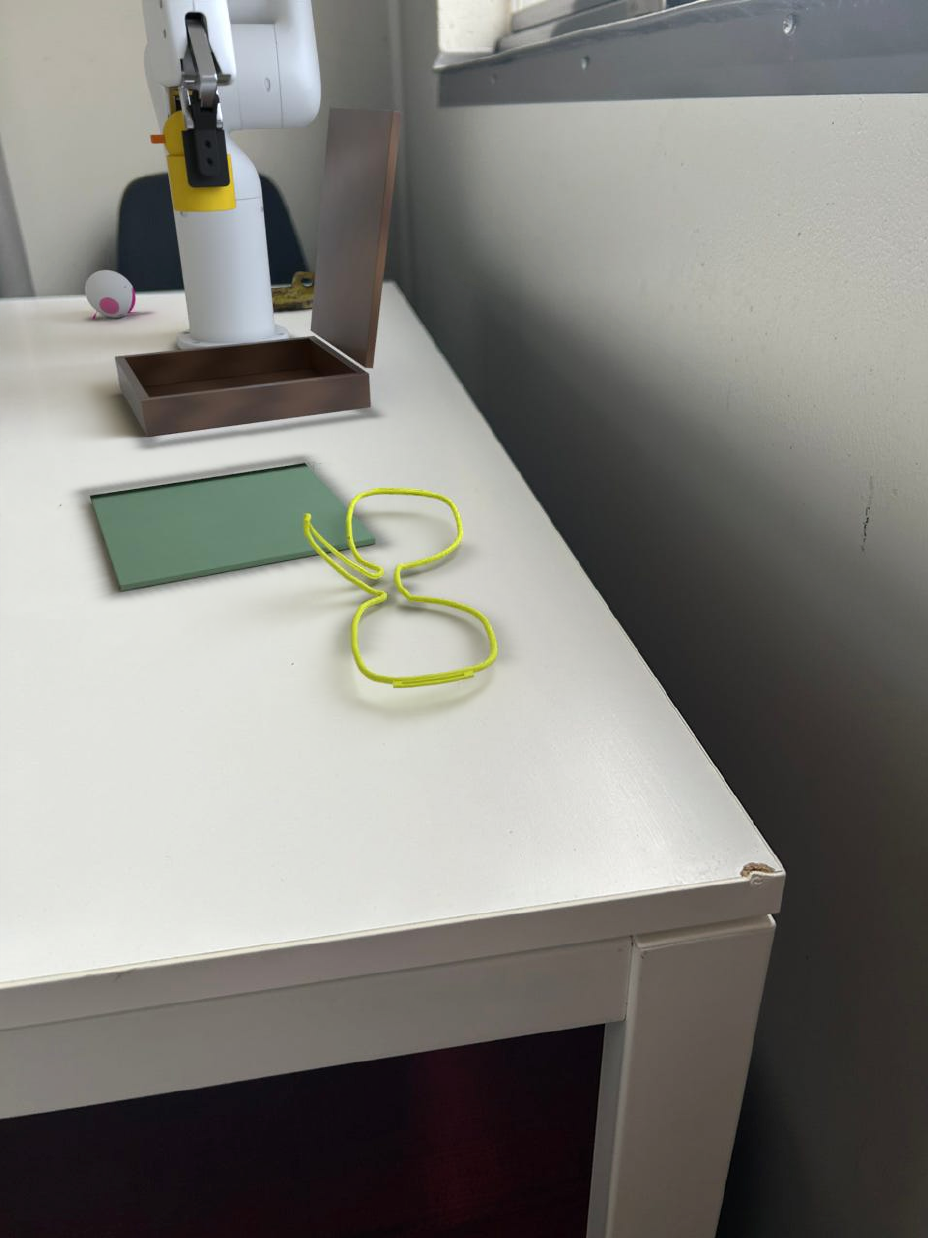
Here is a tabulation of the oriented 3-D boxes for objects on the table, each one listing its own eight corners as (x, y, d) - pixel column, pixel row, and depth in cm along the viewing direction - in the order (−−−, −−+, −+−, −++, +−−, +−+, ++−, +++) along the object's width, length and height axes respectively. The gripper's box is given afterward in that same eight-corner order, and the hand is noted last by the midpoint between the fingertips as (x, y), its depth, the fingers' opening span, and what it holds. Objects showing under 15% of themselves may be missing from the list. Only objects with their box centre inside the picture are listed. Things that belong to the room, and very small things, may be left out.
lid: (392, 109, 78) (402, 111, 79) (329, 106, 92) (337, 108, 92) (364, 367, 87) (373, 368, 87) (310, 330, 100) (317, 331, 100)
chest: (148, 446, 82) (141, 401, 80) (121, 395, 95) (114, 356, 93) (371, 415, 89) (369, 373, 87) (317, 372, 102) (314, 335, 100)
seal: (216, 322, 129) (331, 316, 131) (211, 285, 126) (329, 280, 128) (219, 300, 136) (328, 294, 138) (214, 265, 134) (325, 260, 136)
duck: (228, 204, 84) (218, 108, 80) (242, 209, 80) (231, 109, 76) (156, 208, 82) (142, 109, 78) (167, 213, 77) (152, 110, 74)
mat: (87, 491, 73) (86, 486, 73) (298, 459, 78) (297, 454, 78) (121, 591, 58) (119, 585, 58) (375, 543, 64) (375, 537, 64)
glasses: (509, 700, 48) (513, 614, 45) (304, 712, 47) (296, 625, 44) (452, 501, 69) (453, 435, 67) (311, 506, 68) (306, 440, 66)
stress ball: (140, 345, 127) (163, 299, 126) (81, 315, 122) (104, 266, 121) (125, 332, 133) (147, 287, 132) (68, 303, 128) (90, 256, 126)
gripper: (247, -107, 66) (274, 189, 74) (197, -71, 80) (225, 175, 88) (131, -115, 63) (173, 194, 72) (100, -76, 77) (139, 179, 85)
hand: (202, 181), depth 80 cm, fingers closed on duck, 5 cm apart
